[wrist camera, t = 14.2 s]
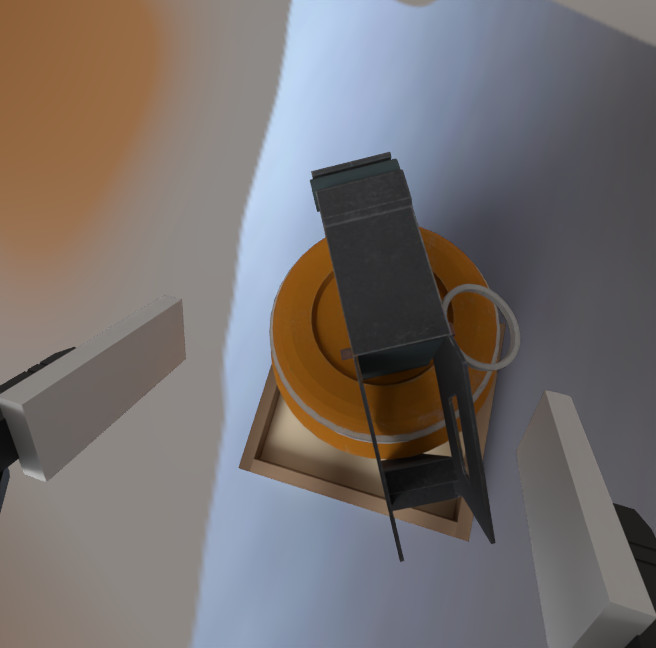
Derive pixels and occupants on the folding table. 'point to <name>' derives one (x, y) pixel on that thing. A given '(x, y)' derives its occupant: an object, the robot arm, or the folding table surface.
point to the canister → (390, 340)
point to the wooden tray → (346, 463)
